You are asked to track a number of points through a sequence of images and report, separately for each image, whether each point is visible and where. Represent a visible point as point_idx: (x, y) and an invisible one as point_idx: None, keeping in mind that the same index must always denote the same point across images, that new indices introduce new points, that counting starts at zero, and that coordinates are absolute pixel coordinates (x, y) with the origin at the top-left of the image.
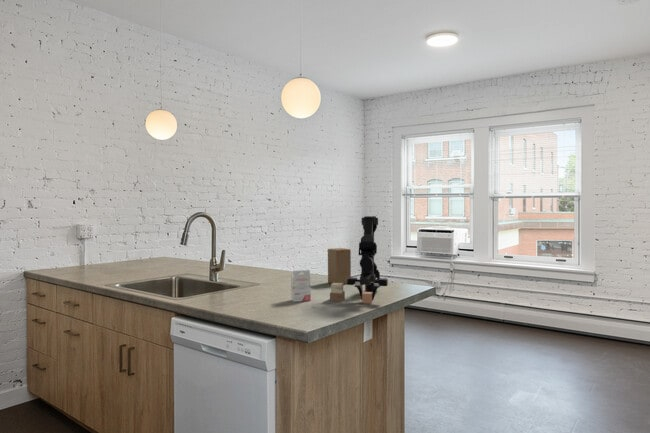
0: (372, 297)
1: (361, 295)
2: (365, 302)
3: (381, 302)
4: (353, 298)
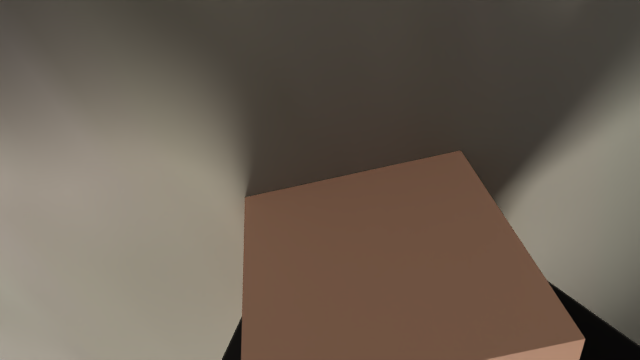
0: None
1: None
2: (388, 176)
3: (117, 329)
4: None
